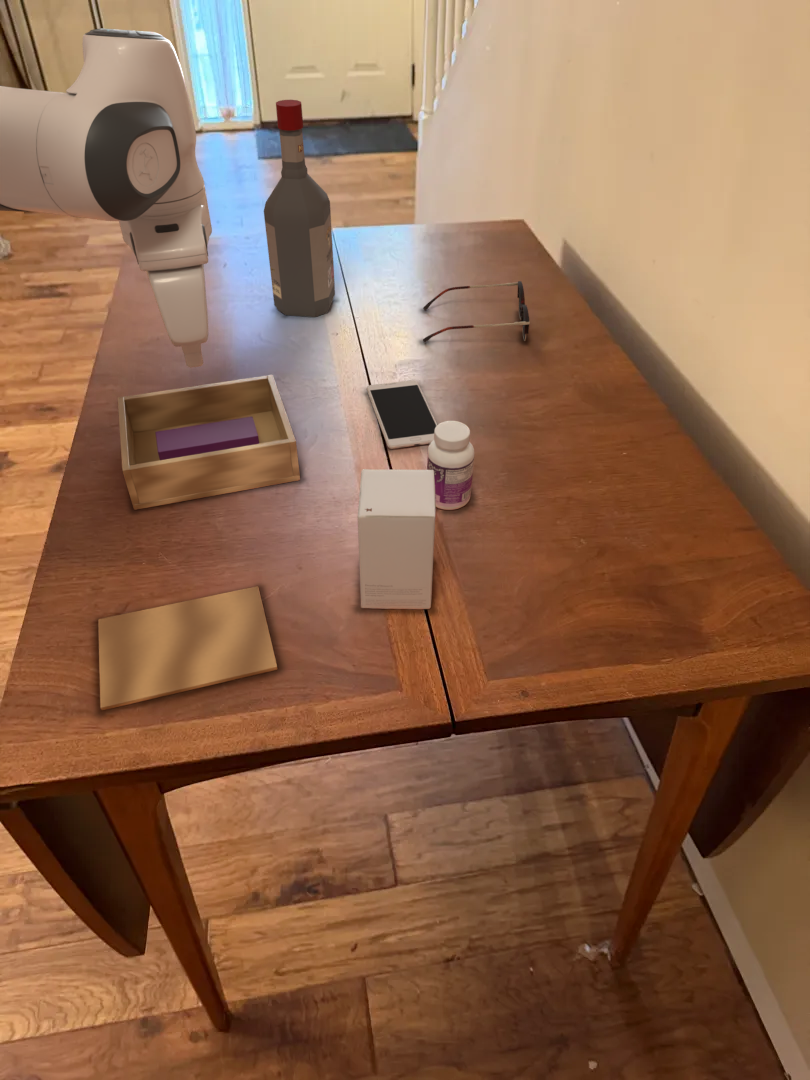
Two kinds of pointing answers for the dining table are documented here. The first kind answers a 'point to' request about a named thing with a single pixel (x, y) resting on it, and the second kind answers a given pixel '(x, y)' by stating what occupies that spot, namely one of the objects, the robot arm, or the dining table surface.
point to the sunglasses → (522, 314)
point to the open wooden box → (209, 470)
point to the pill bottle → (451, 464)
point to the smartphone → (402, 413)
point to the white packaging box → (396, 538)
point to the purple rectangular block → (206, 438)
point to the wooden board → (183, 647)
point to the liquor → (298, 227)
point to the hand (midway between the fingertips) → (190, 343)
